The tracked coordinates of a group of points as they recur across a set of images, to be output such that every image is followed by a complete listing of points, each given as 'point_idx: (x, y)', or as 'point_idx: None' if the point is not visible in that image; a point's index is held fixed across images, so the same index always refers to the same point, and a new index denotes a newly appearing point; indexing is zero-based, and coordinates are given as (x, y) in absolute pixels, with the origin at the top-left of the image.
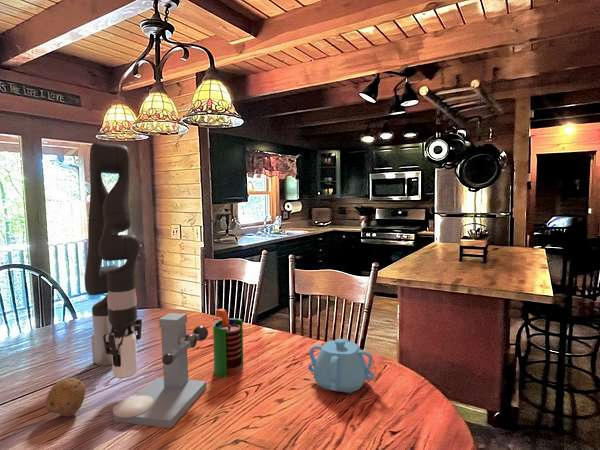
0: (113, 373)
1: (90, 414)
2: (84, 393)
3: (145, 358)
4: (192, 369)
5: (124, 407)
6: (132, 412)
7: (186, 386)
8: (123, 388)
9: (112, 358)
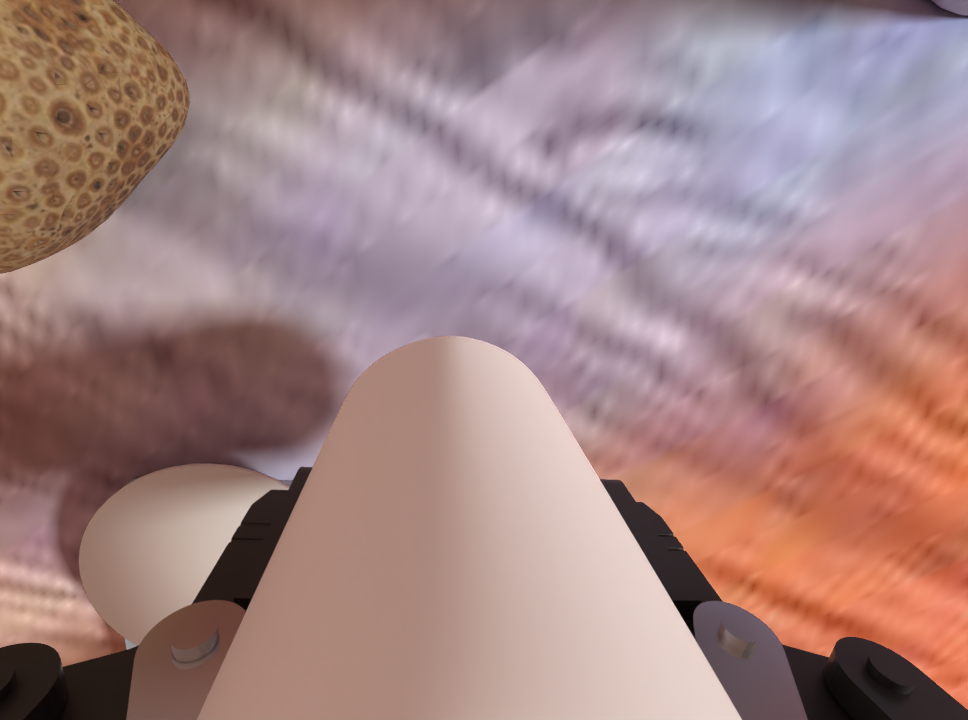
0: (355, 385)
1: (155, 285)
2: (12, 270)
3: (959, 207)
4: (738, 581)
5: (175, 537)
6: (139, 610)
7: None
8: (506, 306)
9: (316, 475)
